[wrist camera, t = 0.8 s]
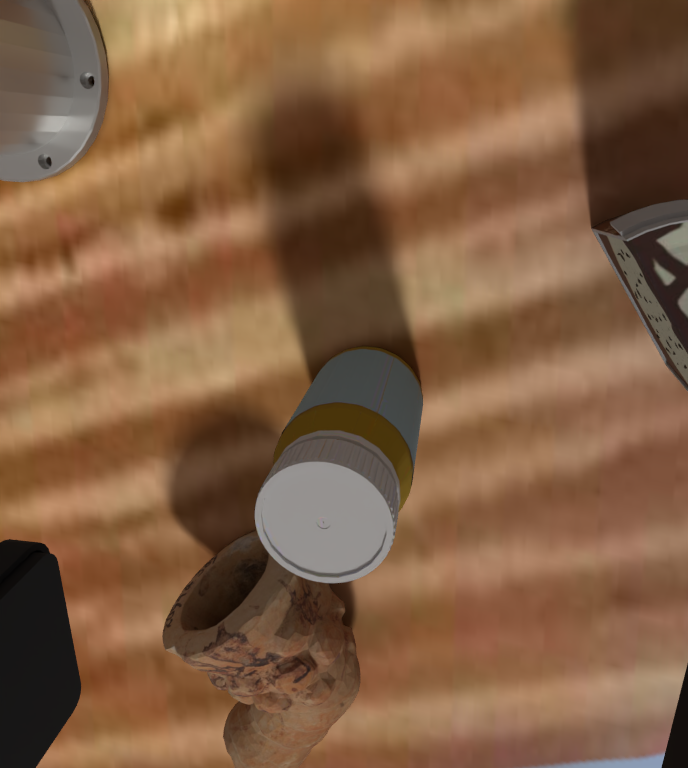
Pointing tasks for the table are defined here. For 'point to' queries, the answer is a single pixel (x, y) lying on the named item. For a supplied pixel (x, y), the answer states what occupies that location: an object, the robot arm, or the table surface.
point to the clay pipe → (267, 652)
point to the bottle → (343, 468)
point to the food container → (654, 274)
